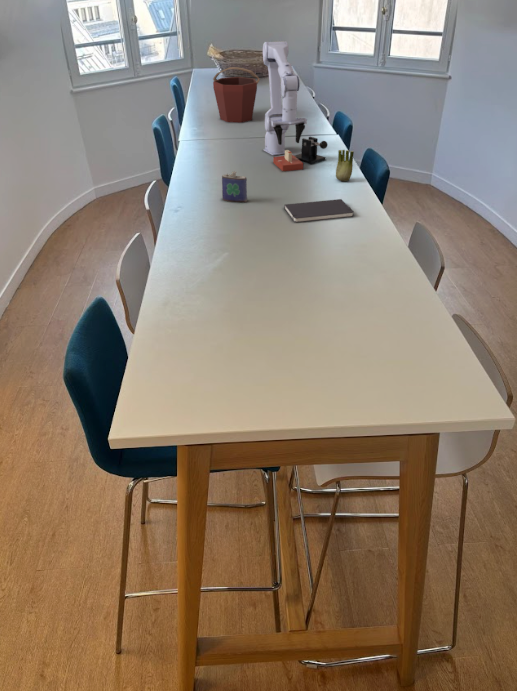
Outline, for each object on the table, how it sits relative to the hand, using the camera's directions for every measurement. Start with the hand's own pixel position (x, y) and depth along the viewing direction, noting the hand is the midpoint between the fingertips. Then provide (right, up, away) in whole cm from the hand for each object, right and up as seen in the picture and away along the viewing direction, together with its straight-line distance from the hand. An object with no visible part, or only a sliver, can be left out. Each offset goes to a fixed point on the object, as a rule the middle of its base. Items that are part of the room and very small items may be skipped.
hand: (288, 143), depth 236 cm
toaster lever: (+12, 0, +7) cm, 14 cm away
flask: (-21, -30, -27) cm, 46 cm away
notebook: (+9, -37, -36) cm, 52 cm away
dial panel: (0, -8, +5) cm, 9 cm away
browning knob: (0, -6, +4) cm, 7 cm away
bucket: (-24, +38, +70) cm, 83 cm away
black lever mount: (+9, -2, +13) cm, 16 cm away
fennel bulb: (+21, -18, -10) cm, 30 cm away
